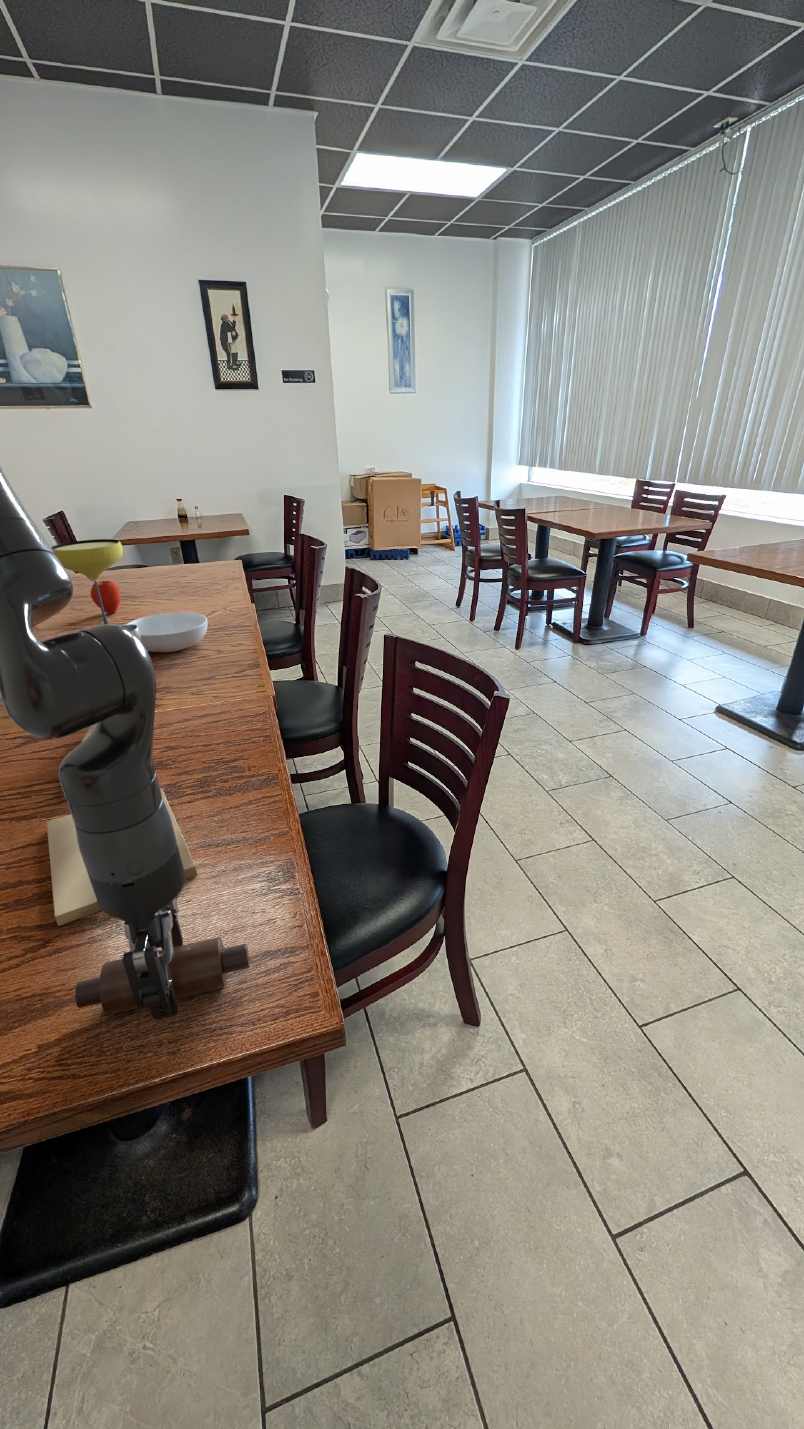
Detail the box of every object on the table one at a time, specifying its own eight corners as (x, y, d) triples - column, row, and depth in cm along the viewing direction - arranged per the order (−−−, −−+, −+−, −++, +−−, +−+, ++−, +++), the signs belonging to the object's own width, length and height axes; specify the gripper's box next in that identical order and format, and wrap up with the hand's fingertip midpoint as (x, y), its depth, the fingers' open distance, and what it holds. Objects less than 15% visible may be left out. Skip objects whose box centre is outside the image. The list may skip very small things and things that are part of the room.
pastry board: (58, 926, 68) (54, 916, 67) (49, 829, 85) (46, 821, 85) (197, 875, 75) (195, 865, 75) (163, 795, 92) (161, 787, 92)
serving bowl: (171, 665, 145) (165, 638, 142) (112, 654, 154) (105, 629, 151) (227, 640, 162) (223, 615, 159) (171, 631, 171) (166, 608, 168)
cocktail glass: (80, 626, 179) (56, 542, 168) (143, 619, 183) (124, 537, 173) (68, 644, 163) (41, 552, 152) (138, 636, 168) (116, 546, 157)
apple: (92, 617, 187) (83, 584, 182) (102, 610, 194) (93, 578, 190) (119, 616, 187) (111, 582, 183) (128, 609, 195) (120, 576, 190)
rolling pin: (81, 1033, 56) (66, 999, 54) (90, 990, 60) (77, 958, 58) (252, 990, 59) (245, 958, 57) (250, 953, 64) (243, 921, 61)
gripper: (100, 814, 57) (139, 935, 64) (67, 917, 45) (119, 1053, 52) (180, 799, 59) (209, 919, 66) (170, 895, 47) (207, 1030, 54)
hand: (170, 978), depth 59 cm, fingers open, 8 cm apart
